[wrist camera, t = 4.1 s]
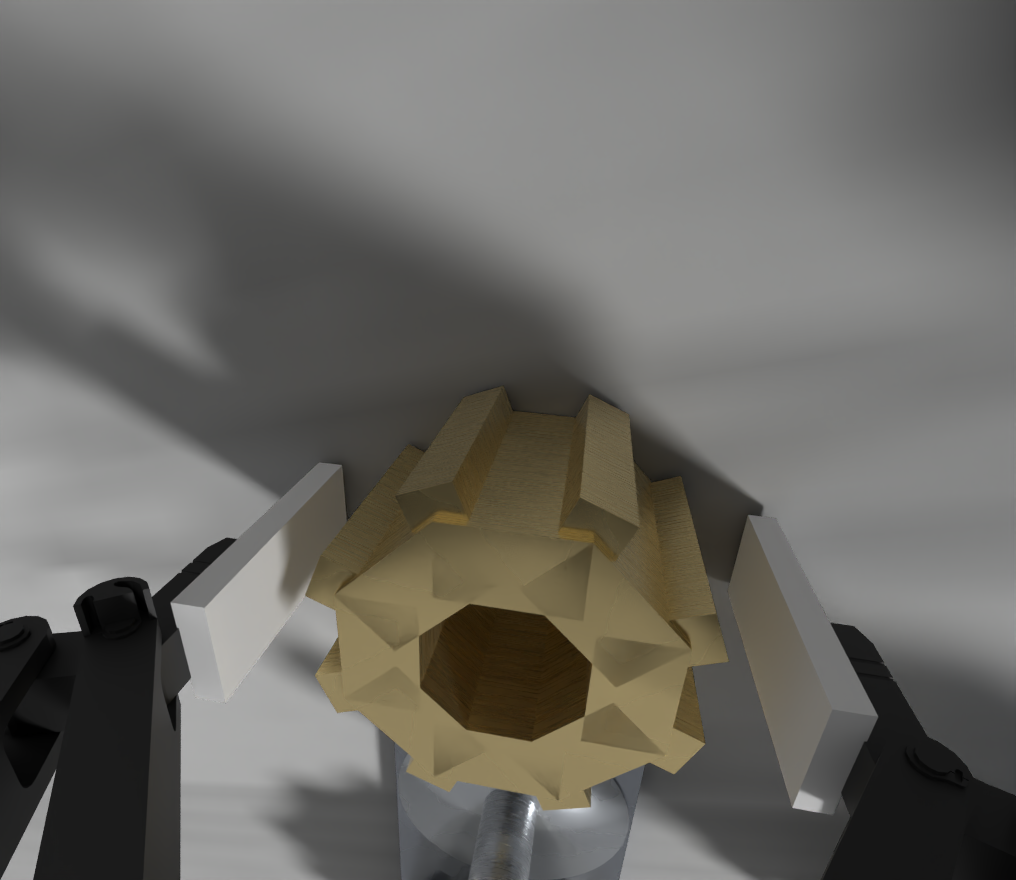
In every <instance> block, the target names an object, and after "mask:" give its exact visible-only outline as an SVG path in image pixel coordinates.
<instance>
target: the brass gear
mask: <svg viewBox="0 0 1016 880" xmlns="http://www.w3.org/2000/svg"><path fill="white" fill-rule="evenodd" d="M305 596H307V597H309V598H311V599H313V600H315V601H317V602H319V603H321V604H323V605H325V606H327V607H329V608H332V609H334V610H336V618H337V628H338V638H337V640H336V641H335V643H334V645H333V646H332V648H331V650H330V651H329V653H328V655H327V656H326V658H325V660H324V661H323V663H322V665H321V666H320V668H319V670H318V671H317V673H316V675H315V677H316V678H317V680H318V682H319V683H320V685H321V687H322V688H323V690H324V692H325V693H326V695H327V696H328V698H329V700H330V701H331V703H332V705H333V706H334V708H335V710H336V711H337V713H340V712H348V711H355V710H358V711H360V712H361V713H362V714H363V715H364V716H365V717H366V718H368V719H369V720H370V721H371V722H372V723H373V724H374V725H376V726H377V727H378V728H379V729H380V730H381V731H383V732H384V733H385V734H386V735H387V736H388V737H389V738H391V739H392V740H393V741H394V742H395V743H396V744H397V745H399V746H400V747H401V748H402V749H403V750H404V751H406V752H407V753H408V754H409V755H410V756H411V758H410V761H409V764H408V767H407V770H406V772H408V773H410V774H412V775H414V776H416V777H418V778H420V779H422V780H425V781H427V782H429V783H431V784H433V785H435V786H437V787H439V788H441V789H444V790H446V791H448V792H450V791H451V789H452V788H453V786H454V785H455V784H456V782H457V781H460V782H465V783H471V784H476V785H481V786H486V787H491V788H496V789H502V790H507V791H512V792H517V793H522V794H527V795H533V796H536V797H537V799H538V801H539V803H540V806H541V808H542V810H543V811H544V810H559V809H575V808H590V807H591V787H592V786H594V785H597V784H599V783H602V782H604V781H606V780H609V779H611V778H614V777H616V776H619V775H621V774H623V773H626V772H628V771H631V770H633V769H635V768H638V767H640V766H643V765H645V764H648V763H652V764H654V765H656V766H658V767H660V768H662V769H664V770H666V771H668V772H670V773H672V774H675V773H676V772H677V771H678V770H679V769H680V768H681V767H682V766H683V765H684V764H685V763H686V762H687V761H688V760H689V759H690V758H691V757H693V756H694V755H695V754H696V753H697V752H698V751H699V750H700V749H701V748H702V747H703V746H704V745H705V738H704V733H703V727H702V721H701V716H700V710H699V704H698V699H697V693H696V687H695V682H694V676H693V671H692V666H700V665H707V664H715V663H723V662H729V659H728V656H727V652H726V648H725V644H724V640H723V636H722V632H721V628H720V625H719V621H718V617H717V613H716V609H715V605H714V601H713V598H712V594H711V590H710V586H709V582H708V578H707V574H706V570H705V567H704V563H703V559H702V555H701V551H700V547H699V543H698V539H697V536H696V532H695V528H694V524H693V520H692V516H691V512H690V509H689V505H688V501H687V497H686V493H685V490H684V486H683V482H682V478H681V476H678V477H674V478H670V479H665V480H661V481H656V482H651V480H650V479H649V478H648V477H647V476H646V475H645V474H644V472H643V471H642V470H641V469H640V468H639V467H638V465H637V464H636V463H635V462H634V461H633V452H632V442H631V431H630V421H629V414H627V413H625V412H623V411H621V410H619V409H617V408H615V407H613V406H611V405H609V404H607V403H606V402H604V401H602V400H600V399H598V398H596V397H594V396H592V395H590V394H589V396H588V397H587V399H586V401H585V403H584V404H583V406H582V408H581V409H580V411H579V413H578V415H577V416H576V417H566V416H557V415H548V414H538V413H529V412H519V411H513V410H512V407H511V404H510V402H509V399H508V396H507V394H506V391H505V388H504V386H500V387H497V388H494V389H490V390H487V391H483V392H480V393H477V394H473V395H470V396H466V397H464V398H463V399H462V401H461V402H460V403H459V405H458V406H457V408H456V409H455V411H454V412H453V413H452V415H451V416H450V418H449V419H448V421H447V422H446V423H445V425H444V426H443V428H442V429H441V431H440V432H439V433H438V435H437V436H436V438H435V439H434V441H433V442H432V444H431V445H430V446H429V448H428V449H427V451H426V452H423V451H421V450H419V449H417V448H415V447H413V446H411V445H409V444H408V445H407V446H406V448H405V449H404V450H403V451H402V453H401V454H400V455H399V457H398V458H397V459H396V460H395V462H394V463H393V464H392V465H391V467H390V468H389V469H388V471H387V472H386V473H385V474H384V476H383V477H382V478H381V479H380V481H379V482H378V483H377V484H376V486H375V487H374V488H373V490H372V491H371V492H370V493H369V495H368V496H367V497H366V498H365V500H364V501H363V502H362V504H361V505H360V506H359V507H358V509H357V510H356V511H355V512H354V514H353V515H352V516H351V518H350V519H349V520H348V521H347V523H346V524H345V525H344V526H343V528H342V529H341V530H340V531H339V533H338V534H337V535H336V537H335V538H334V539H333V540H332V542H331V543H330V544H329V545H328V547H327V548H326V549H325V551H324V552H323V553H322V554H321V556H320V558H319V560H318V563H317V566H316V568H315V571H314V573H313V576H312V578H311V581H310V583H309V586H308V588H307V591H306V593H305Z"/></svg>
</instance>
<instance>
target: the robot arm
mask: <svg viewBox="0 0 1016 880" xmlns="http://www.w3.org/2000/svg"><path fill="white" fill-rule="evenodd" d="M346 523H347V518H346V505H345V493H344V481H343V469H342V465H337V464H329V463H321V462H319V463H318V464H317V465H316V466H315V467H314V468H312V469H311V470H310V471H309V472H308V473H307V474H306V475H305V476H304V477H303V478H302V479H301V480H300V481H299V482H298V483H297V484H295V485H294V486H293V487H292V488H291V489H290V490H289V491H288V492H287V493H286V494H285V495H284V496H283V497H282V498H281V499H280V500H279V501H277V502H276V503H275V504H274V505H273V506H272V507H271V508H270V509H269V510H268V511H267V512H266V513H265V514H264V515H263V516H262V517H261V518H259V519H258V520H257V521H256V522H255V523H254V524H253V525H252V526H251V527H250V528H249V529H248V530H247V531H246V532H245V533H244V534H243V535H241V536H240V537H239V538H238V539H232V538H225V539H223V540H221V541H219V542H217V543H215V544H213V545H211V546H210V547H208V548H206V549H205V550H204V551H203V552H202V553H201V554H200V555H198V556H197V557H196V558H195V559H194V560H193V563H190V564H188V565H187V566H186V567H185V568H184V569H183V570H182V572H181V573H178V574H177V575H176V576H175V577H174V578H173V579H172V580H171V581H169V582H168V583H167V584H166V585H165V586H164V587H163V588H162V589H160V590H159V591H158V592H157V593H156V594H155V595H154V596H153V597H151V593H150V589H149V586H148V583H147V582H146V581H144V580H142V579H141V578H135V577H123V578H115V579H112V580H109V581H106V582H102V583H100V584H98V585H96V586H94V587H92V588H90V589H88V590H87V591H86V592H84V593H83V594H82V595H81V596H80V597H78V599H77V600H76V602H75V604H74V606H73V607H74V610H75V613H76V616H77V619H78V621H79V624H80V627H81V630H82V631H78V632H67V633H55V634H52V631H51V629H50V626H49V624H48V622H47V620H46V619H44V618H41V617H39V616H24V617H19V618H14V619H10V620H7V621H5V622H2V623H0V879H1V877H2V875H3V873H4V872H5V870H6V868H7V866H8V864H9V862H10V860H11V858H12V856H13V854H14V852H15V850H16V848H17V846H18V844H19V842H20V840H21V838H22V836H23V834H24V832H25V830H26V828H27V826H28V824H29V822H30V820H31V818H32V816H33V814H34V812H35V810H36V808H37V806H38V804H39V802H40V800H41V798H42V796H43V794H44V792H45V790H46V788H47V786H48V784H49V782H50V780H51V778H52V776H53V774H54V772H55V770H56V773H55V778H54V783H53V788H52V792H51V797H50V802H49V807H48V812H47V816H46V821H45V826H44V831H43V836H42V840H41V845H40V850H39V855H38V859H37V864H36V869H35V874H34V879H33V880H180V774H181V704H180V700H179V696H178V693H179V691H180V690H181V689H182V688H183V687H184V686H185V684H186V683H187V682H188V681H189V680H190V681H191V685H192V689H193V693H194V697H195V698H198V699H203V700H209V701H214V702H220V703H225V704H226V703H227V701H228V700H229V699H230V697H231V696H232V695H233V693H234V692H235V691H236V689H237V688H238V687H239V685H240V684H241V683H242V681H243V680H244V678H245V677H246V676H247V674H248V673H249V672H250V670H251V669H252V668H253V666H254V665H255V664H256V662H257V661H258V660H259V658H260V657H261V656H262V654H263V653H264V652H265V650H266V649H267V647H268V646H269V645H270V643H271V642H272V641H273V639H274V638H275V637H276V635H277V634H278V633H279V631H280V630H281V629H282V627H283V626H284V625H285V623H286V622H287V621H288V619H289V618H290V617H291V615H292V614H293V612H294V611H295V610H296V608H297V607H298V606H299V604H300V603H301V602H302V600H303V599H304V598H305V593H306V591H307V588H308V586H309V583H310V581H311V578H312V576H313V573H314V571H315V568H316V566H317V563H318V560H319V558H320V556H321V554H322V553H323V552H324V551H325V549H326V548H327V547H328V545H329V544H330V543H331V542H332V540H333V539H334V538H335V537H336V535H337V534H338V533H339V531H340V530H341V529H342V528H343V526H344V525H345V524H346ZM728 595H729V598H730V602H731V605H732V608H733V612H734V615H735V618H736V622H737V625H738V628H739V632H740V635H741V638H742V642H743V645H744V648H745V652H746V655H747V658H748V662H749V665H750V668H751V672H752V675H753V678H754V682H755V685H756V688H757V692H758V695H759V698H760V702H761V705H762V708H763V712H764V715H765V718H766V722H767V725H768V729H769V732H770V735H771V739H772V742H773V745H774V749H775V752H776V755H777V759H778V762H779V765H780V769H781V772H782V775H783V779H784V782H785V785H786V789H787V792H788V795H789V799H790V802H791V805H792V808H796V809H802V810H807V811H813V812H818V813H823V814H829V815H833V814H834V812H835V810H836V808H837V806H838V803H839V801H840V799H841V797H842V796H843V799H844V801H845V804H846V807H847V809H848V812H849V814H850V819H849V821H848V823H847V825H846V827H845V829H844V832H843V834H842V836H841V838H840V840H839V842H838V844H837V846H836V848H835V850H834V853H833V855H832V857H831V859H830V862H829V864H828V866H827V868H826V870H825V872H824V874H823V877H822V879H821V880H1016V796H1015V795H1013V794H1010V793H1008V792H1005V791H1003V790H1000V789H998V788H995V787H993V786H990V785H988V784H986V783H984V782H981V781H979V780H977V779H975V778H973V776H972V774H971V773H970V771H969V769H968V767H967V766H966V765H965V764H964V763H963V762H962V761H961V760H960V759H959V758H958V756H957V755H956V754H955V753H953V752H952V751H951V750H949V749H948V748H946V747H945V746H943V745H942V744H941V743H939V742H938V741H935V740H933V739H931V738H929V737H927V735H926V733H925V732H924V730H923V728H922V726H921V725H920V723H919V721H918V720H917V718H916V716H915V714H914V713H913V711H912V709H911V708H910V706H909V704H908V703H907V701H906V699H905V697H904V696H903V694H902V692H901V691H900V689H899V687H898V685H897V684H896V682H894V681H893V677H892V675H891V674H890V672H889V670H888V668H887V667H886V666H884V662H883V660H882V658H881V657H880V655H879V653H878V651H877V650H876V648H875V646H874V645H873V643H872V642H871V641H869V640H868V639H867V638H866V637H865V636H864V635H863V634H862V633H861V632H860V631H859V630H858V629H856V628H855V627H854V626H848V625H842V624H835V623H830V622H829V620H828V618H827V616H826V614H825V612H824V610H823V608H822V606H821V604H820V602H819V601H818V599H817V597H816V595H815V593H814V591H813V589H812V587H811V585H810V583H809V581H808V579H807V577H806V575H805V573H804V571H803V570H802V568H801V566H800V564H799V562H798V560H797V558H796V556H795V554H794V552H793V550H792V548H791V546H790V544H789V542H788V540H787V538H786V537H785V535H784V533H783V531H782V529H781V527H780V525H779V523H778V521H777V519H776V518H770V517H762V516H754V515H748V517H747V520H746V524H745V528H744V532H743V535H742V539H741V543H740V547H739V550H738V554H737V558H736V562H735V565H734V569H733V573H732V577H731V580H730V584H729V588H728ZM56 768H57V769H56Z"/></svg>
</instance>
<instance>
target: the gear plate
mask: <svg viewBox="0 0 1016 880" xmlns="http://www.w3.org/2000/svg"><path fill="white" fill-rule="evenodd" d="M394 746H395V766H396V785H397V805H398V825H399V845H400V865H401V880H619V878H620V873H621V869H622V864H623V860H624V856H625V851H626V847H627V842H628V838H629V833H630V829H631V825H632V820H633V816H634V811H635V807H636V803H637V798H638V794H639V789H640V785H641V780H642V776H643V772H644V767H645V765H643V766H640V767H638V768H635V769H633V770H631V771H628V772H626V773H623V774H621V775H619V776H616V777H614V778H611V779H609V780H606V781H604V782H602V783H599V784H597V785H594V786H592V787H591V807H590V808H575V809H559V810H544V811H543V810H542V808H541V806H540V803H539V801H538V799H537V797H536V796H533V795H527V794H522V793H517V792H512V791H507V790H502V789H496V788H491V787H486V786H481V785H476V784H471V783H465V782H460V781H457V782H456V784H455V785H454V786H453V788H452V789H451V791H450V792H448V791H446V790H444V789H441V788H439V787H437V786H435V785H433V784H431V783H429V782H427V781H425V780H422V779H420V778H418V777H416V776H414V775H412V774H410V773H408V772H406V770H407V767H408V764H409V761H410V758H411V756H410V755H409V754H408V753H407V752H406V751H404V750H403V749H402V748H401V747H400V746H399V745H397V744H396V743H395V742H394Z"/></svg>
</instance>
